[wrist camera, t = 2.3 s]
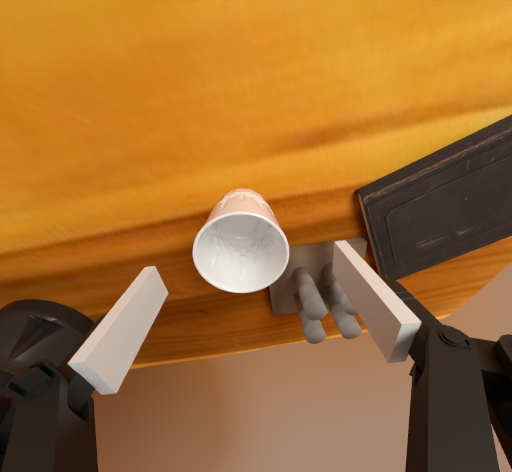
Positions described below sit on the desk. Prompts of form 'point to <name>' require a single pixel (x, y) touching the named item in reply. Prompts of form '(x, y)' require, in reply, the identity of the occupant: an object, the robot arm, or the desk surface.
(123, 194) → the desk surface
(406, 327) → the robot arm
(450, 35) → the desk surface
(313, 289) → the peg stand
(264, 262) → the white cup
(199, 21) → the desk surface
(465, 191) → the hardcover book
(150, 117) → the desk surface
